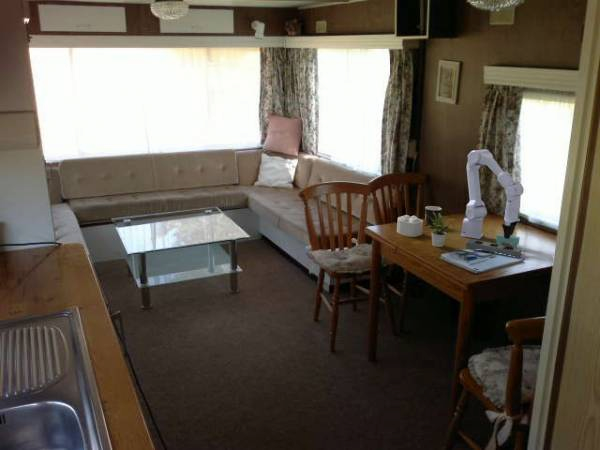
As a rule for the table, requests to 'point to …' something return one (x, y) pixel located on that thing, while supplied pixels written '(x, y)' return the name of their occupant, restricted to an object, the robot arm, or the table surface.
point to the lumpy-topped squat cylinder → (409, 226)
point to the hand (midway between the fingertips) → (508, 236)
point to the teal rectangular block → (507, 240)
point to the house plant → (438, 231)
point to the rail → (494, 247)
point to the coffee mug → (431, 215)
